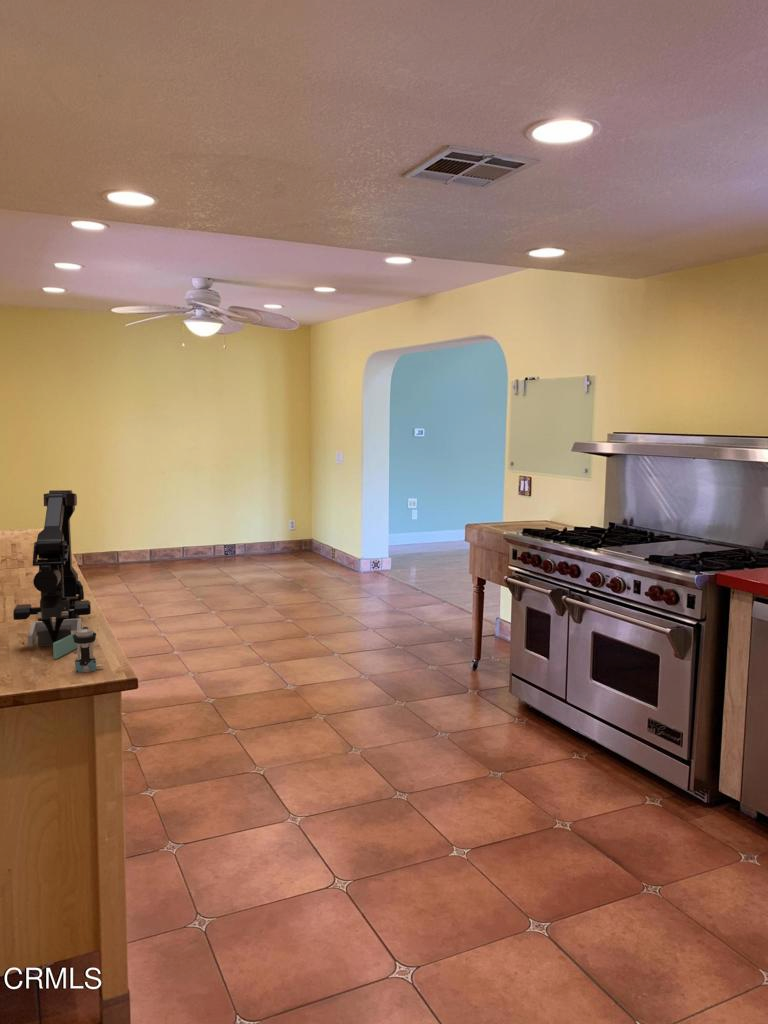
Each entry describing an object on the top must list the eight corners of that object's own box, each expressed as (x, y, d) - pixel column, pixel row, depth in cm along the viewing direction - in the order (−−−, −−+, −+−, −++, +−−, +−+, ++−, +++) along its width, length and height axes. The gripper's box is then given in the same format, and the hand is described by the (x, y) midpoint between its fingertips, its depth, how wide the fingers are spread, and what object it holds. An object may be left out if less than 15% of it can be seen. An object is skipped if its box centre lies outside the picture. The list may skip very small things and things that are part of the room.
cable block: (40, 641, 210) (39, 626, 209) (71, 638, 212) (70, 624, 212) (37, 646, 205) (37, 631, 205) (70, 644, 208) (69, 629, 207)
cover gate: (53, 658, 194) (52, 643, 193) (82, 643, 207) (81, 629, 206) (56, 658, 194) (55, 643, 193) (85, 643, 207) (84, 629, 206)
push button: (102, 665, 190) (101, 626, 189) (104, 672, 185) (102, 632, 184) (73, 668, 188) (72, 629, 186) (74, 675, 183) (72, 634, 181)
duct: (32, 632, 218) (32, 616, 217) (89, 627, 223) (89, 612, 222) (27, 648, 202) (27, 632, 202) (88, 643, 208) (88, 627, 207)
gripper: (9, 593, 192) (12, 653, 194) (89, 588, 199) (91, 646, 201) (14, 583, 202) (17, 641, 204) (89, 579, 209) (91, 635, 211)
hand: (54, 641), depth 205 cm, fingers closed
